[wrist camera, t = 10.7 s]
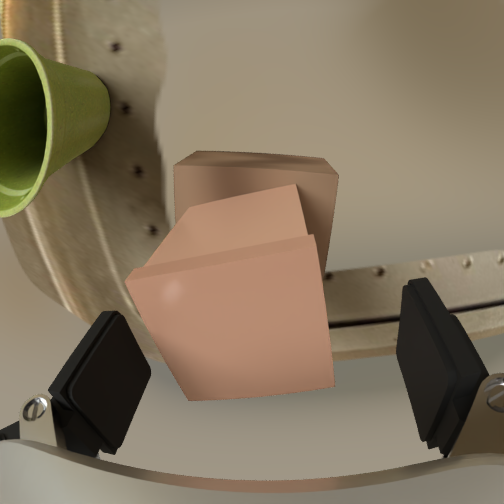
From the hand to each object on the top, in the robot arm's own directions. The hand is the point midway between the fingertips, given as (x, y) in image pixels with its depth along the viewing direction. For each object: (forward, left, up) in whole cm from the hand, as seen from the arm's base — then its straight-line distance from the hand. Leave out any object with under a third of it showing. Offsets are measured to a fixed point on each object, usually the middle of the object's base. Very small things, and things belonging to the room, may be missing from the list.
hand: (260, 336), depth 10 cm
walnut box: (+1, 0, -12) cm, 12 cm away
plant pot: (+12, -10, -12) cm, 20 cm away
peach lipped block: (+1, 0, -7) cm, 7 cm away
